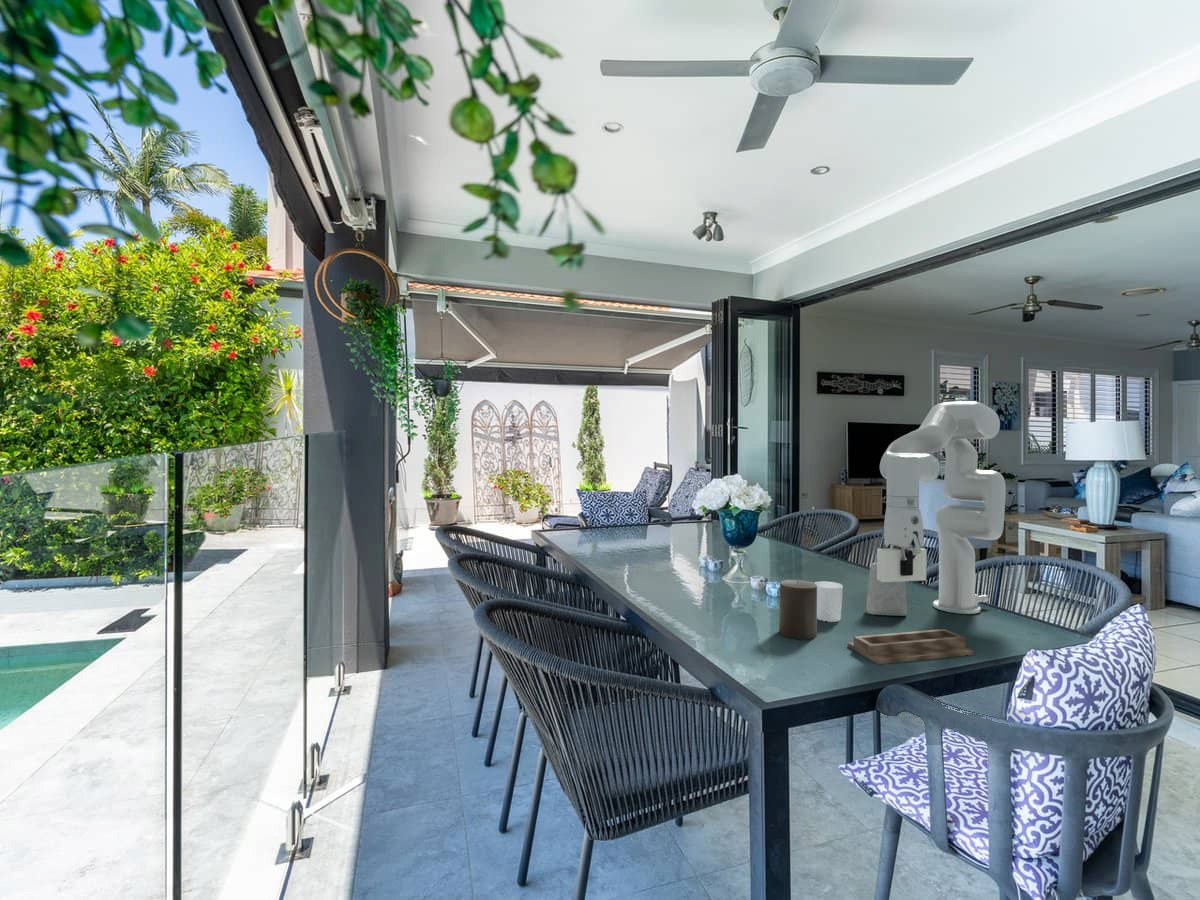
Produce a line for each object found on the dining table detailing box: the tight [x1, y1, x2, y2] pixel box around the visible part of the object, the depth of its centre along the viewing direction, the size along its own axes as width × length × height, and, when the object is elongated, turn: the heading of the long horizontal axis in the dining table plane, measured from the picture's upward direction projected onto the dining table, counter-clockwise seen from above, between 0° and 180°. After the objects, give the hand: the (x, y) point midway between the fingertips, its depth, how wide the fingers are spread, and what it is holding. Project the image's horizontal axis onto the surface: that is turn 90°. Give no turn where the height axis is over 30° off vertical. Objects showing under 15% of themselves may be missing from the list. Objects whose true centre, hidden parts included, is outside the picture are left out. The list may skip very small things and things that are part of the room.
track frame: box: [847, 628, 974, 665], centre depth 154 cm, size 26×12×3 cm, turn 101°
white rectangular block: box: [876, 547, 928, 582], centre depth 160 cm, size 12×3×8 cm, turn 100°
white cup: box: [814, 580, 844, 623], centre depth 180 cm, size 8×8×10 cm
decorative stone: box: [866, 561, 908, 617], centre depth 184 cm, size 11×6×15 cm, turn 71°
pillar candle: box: [778, 579, 818, 640], centre depth 168 cm, size 10×10×15 cm
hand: (901, 573), depth 160 cm, fingers closed on white rectangular block, 3 cm apart
